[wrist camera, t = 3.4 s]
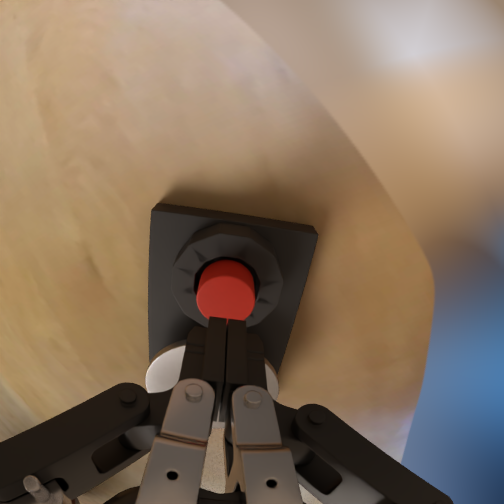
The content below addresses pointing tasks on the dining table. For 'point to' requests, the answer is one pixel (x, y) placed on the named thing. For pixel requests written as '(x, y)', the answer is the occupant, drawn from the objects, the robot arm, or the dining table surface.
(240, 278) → the button
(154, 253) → the scale
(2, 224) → the dining table surface
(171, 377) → the scale pan
